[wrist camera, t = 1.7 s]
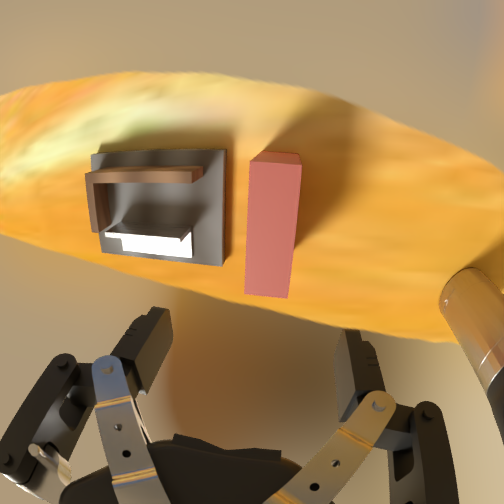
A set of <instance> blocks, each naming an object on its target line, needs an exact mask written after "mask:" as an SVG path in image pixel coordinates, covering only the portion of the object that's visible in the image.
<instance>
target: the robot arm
mask: <svg viewBox="0 0 504 504" xmlns="http://www.w3.org/2000/svg"><path fill="white" fill-rule="evenodd" d="M439 305H440V311H441V313H442V315H443V316H444V318H445V319H446V321H447V323H448V324H449V326H450V328H451V330H452V331H453V333H454V335H455V336H456V338H457V340H458V342H459V343H460V345H461V347H462V349H463V350H464V352H465V354H466V356H467V357H468V360H469V361H470V363H471V365H472V367H473V369H474V371H475V373H476V375H477V377H478V379H479V381H480V383H481V385H482V387H483V389H484V391H485V394H486V396H487V398H488V400H489V403H490V405H491V408H492V411H493V415H494V418H495V420H496V423H497V426H498V428H499V431H500V434H501V437H502V441H503V444H504V294H503V293H502V292H501V291H500V290H499V289H498V288H497V287H496V286H495V285H494V284H493V283H492V282H491V280H490V279H488V278H487V277H486V276H485V275H484V274H483V273H482V272H481V271H480V270H478V269H476V268H467V269H465V270H462V271H460V272H459V273H457V274H456V275H455V276H454V277H452V278H451V280H450V281H449V282H448V283H447V285H446V286H445V288H444V290H443V292H442V294H441V297H440V303H439ZM172 341H173V330H172V324H171V317H170V311H169V309H165V308H160V307H155V306H153V307H152V308H151V309H150V311H149V312H148V314H147V315H141V316H140V317H138V318H137V319H135V320H134V321H133V322H132V324H131V325H130V327H129V329H127V331H126V332H125V335H123V337H122V338H121V339H120V341H119V343H118V344H117V345H116V347H115V348H114V350H113V351H112V353H111V354H110V355H106V356H102V357H99V358H98V359H96V360H95V361H94V363H77V361H76V359H75V357H74V356H73V355H71V354H66V353H64V354H60V355H58V356H56V357H55V358H53V360H52V361H51V362H50V364H49V365H48V366H47V368H46V369H45V371H44V372H43V374H42V375H41V376H40V378H39V379H38V381H37V382H36V384H35V385H34V387H33V388H32V390H31V391H30V393H29V394H28V396H27V397H26V399H25V401H24V402H23V404H22V405H21V407H20V408H19V410H18V412H17V413H16V415H15V417H14V419H13V420H12V422H11V423H10V425H9V427H8V428H7V430H6V432H5V434H4V435H3V437H2V439H1V441H0V472H1V473H2V474H3V475H5V476H6V477H7V478H9V479H10V480H11V481H12V482H13V483H14V484H16V485H17V486H19V487H20V488H22V489H23V490H25V491H27V492H29V493H31V494H33V495H34V496H36V497H38V498H39V499H42V500H46V501H47V502H49V503H51V504H335V503H334V502H333V501H332V500H333V499H334V498H335V496H336V495H337V494H338V493H339V492H340V491H341V489H342V488H343V487H344V486H345V485H346V483H347V482H348V481H349V480H350V478H351V477H352V476H353V475H354V473H355V472H356V471H357V469H358V468H359V467H360V465H361V464H362V463H363V461H364V460H365V458H366V457H367V455H368V454H369V453H370V451H371V450H372V448H373V447H376V448H380V449H385V450H387V452H388V467H389V486H390V504H459V498H458V489H457V482H456V475H455V469H454V464H453V458H452V453H451V449H450V444H449V440H448V435H447V431H446V426H445V422H444V419H443V415H442V411H441V409H440V408H439V407H438V406H437V405H436V404H434V403H432V402H429V401H424V402H420V403H419V404H417V406H416V407H415V408H413V407H408V406H403V405H399V404H397V403H396V402H395V400H394V398H393V397H392V396H391V395H390V394H388V393H387V392H386V390H385V386H384V382H383V378H382V374H381V370H380V367H379V363H378V360H377V355H376V352H375V349H374V348H373V346H372V345H371V344H370V343H369V342H368V341H362V339H361V335H360V331H359V330H352V329H343V330H342V332H341V335H340V338H339V342H338V344H337V348H336V351H335V354H334V373H335V384H336V394H337V404H338V417H339V422H346V423H345V424H344V425H343V426H342V427H341V428H339V429H338V430H337V432H335V434H334V435H333V436H332V437H331V438H330V439H329V440H328V442H327V443H326V444H325V445H324V446H323V447H322V448H321V449H320V450H319V452H318V453H317V454H316V455H315V456H314V457H313V458H312V459H311V460H310V461H309V462H308V463H307V464H306V465H305V466H304V467H303V468H302V467H301V466H300V465H298V464H296V463H295V462H293V461H291V460H289V459H286V458H283V457H281V450H269V449H259V448H251V449H250V448H249V449H236V450H224V449H222V448H219V447H217V446H214V445H212V444H210V443H207V442H205V441H203V440H201V439H196V438H192V437H188V436H183V435H179V434H174V437H173V440H170V439H169V440H160V441H156V442H152V441H151V439H150V436H149V434H148V432H147V429H146V427H145V424H144V421H143V418H142V415H141V413H140V410H139V407H138V404H137V401H136V397H137V395H138V393H141V394H144V395H147V393H148V391H149V389H150V387H151V385H152V383H153V381H154V379H155V377H156V375H157V373H158V371H159V369H160V367H161V364H162V363H163V361H164V358H165V356H166V355H167V353H168V351H169V349H170V347H171V344H172ZM63 401H64V402H63ZM94 407H95V413H96V418H97V423H98V427H99V432H100V436H101V440H102V444H103V448H104V451H105V455H106V459H107V462H108V466H106V467H104V468H101V469H100V470H97V471H95V472H93V473H91V474H89V475H87V476H85V477H82V478H80V479H78V480H76V481H73V482H71V483H70V480H71V467H70V464H69V463H68V461H69V458H70V456H71V454H72V452H73V449H74V447H75V445H76V443H77V441H78V439H79V437H80V435H81V432H82V430H83V428H84V426H85V424H86V422H87V420H88V418H89V416H90V414H91V412H92V410H93V408H94Z"/></svg>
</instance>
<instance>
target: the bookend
mask: <svg viewBox="0 0 504 504" xmlns="http://www.w3.org/2000/svg"><path fill="white" fill-rule="evenodd" d="M105 237H112V238H122V244H123V250H127V251H136V252H145V253H154V254H163V255H172V256H181V257H190V258H192V257H193V250H192V226H186V225H172V224H158V223H144V222H128V221H120V222H119V223H117V224H116V225H114V226H113V227H112V228H110V229H109V230H107V231H106V232H105Z"/></svg>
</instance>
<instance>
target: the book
mask: <svg viewBox="0 0 504 504" xmlns="http://www.w3.org/2000/svg"><path fill="white" fill-rule="evenodd" d="M301 173H302V163H301V160H300V157H299V154H294V153H282V152H269V151H262V152H260V153H259V154H258V155H257V156H256V157H254V158H253V159H252V160H251V161H250V171H249V194H248V217H247V241H246V266H245V291H244V294H249V295H258V296H268V297H278V298H288V291H289V284H290V276H291V268H292V260H293V251H294V243H295V234H296V224H297V215H298V205H299V195H300V184H301Z"/></svg>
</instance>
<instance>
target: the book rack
mask: <svg viewBox="0 0 504 504" xmlns="http://www.w3.org/2000/svg"><path fill="white" fill-rule="evenodd" d="M226 152H227V149H155V150H134V151H118V152H105V153H96V154H92V155H91V169H92V172H89V173H86V174H85V180H86V191H87V200H88V208H89V215H90V222H91V229H92V232H95V233H99V238H100V244H101V249H102V253H110V254H118V255H126V256H134V257H142V258H151V259H159V260H168V261H176V262H185V263H194V264H203V265H212V266H223V264H224V262H225V192H226ZM120 221H128V222H144V223H158V224H172V225H186V226H192V250H193V257H192V258H190V257H181V256H172V255H163V254H154V253H145V252H136V251H127V250H123V244H122V238H112V237H105V232H106V231H107V230H109V229H110V228H112V227H113V226H114V225H116V224H117V223H119V222H120Z"/></svg>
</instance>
